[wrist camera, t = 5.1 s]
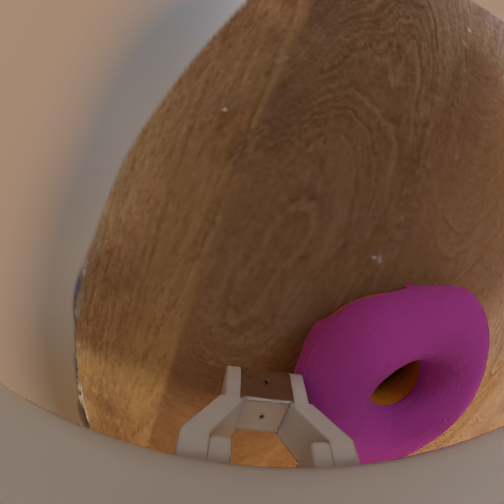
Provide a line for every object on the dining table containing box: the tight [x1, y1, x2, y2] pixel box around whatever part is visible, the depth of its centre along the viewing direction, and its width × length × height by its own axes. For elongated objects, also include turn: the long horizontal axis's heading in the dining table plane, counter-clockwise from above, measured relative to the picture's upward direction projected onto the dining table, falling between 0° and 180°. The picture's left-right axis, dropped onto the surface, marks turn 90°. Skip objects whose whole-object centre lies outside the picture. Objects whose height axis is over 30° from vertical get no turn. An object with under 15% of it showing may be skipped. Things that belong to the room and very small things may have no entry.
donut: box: [294, 284, 489, 464], centre depth 11 cm, size 10×10×5 cm
